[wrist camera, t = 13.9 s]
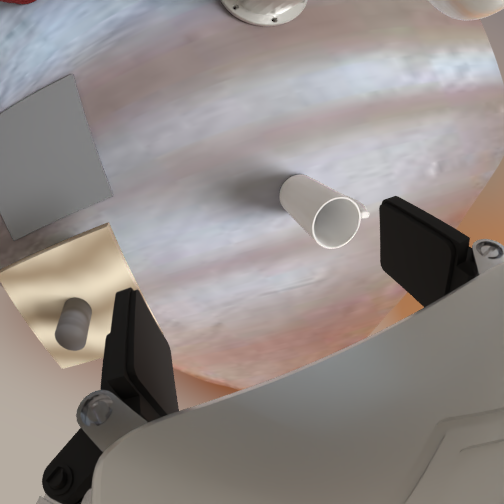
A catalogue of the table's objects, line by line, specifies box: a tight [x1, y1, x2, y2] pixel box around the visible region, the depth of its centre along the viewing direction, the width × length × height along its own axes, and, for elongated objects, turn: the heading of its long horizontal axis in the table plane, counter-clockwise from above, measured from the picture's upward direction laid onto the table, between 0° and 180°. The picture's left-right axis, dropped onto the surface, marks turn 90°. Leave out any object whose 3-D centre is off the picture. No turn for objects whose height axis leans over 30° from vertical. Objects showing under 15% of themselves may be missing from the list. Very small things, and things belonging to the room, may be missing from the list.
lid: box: [0, 222, 163, 369], centre depth 30 cm, size 16×16×6 cm
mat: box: [0, 74, 113, 241], centre depth 34 cm, size 18×18×1 cm
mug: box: [279, 175, 369, 249], centre depth 42 cm, size 10×7×12 cm, turn 92°
